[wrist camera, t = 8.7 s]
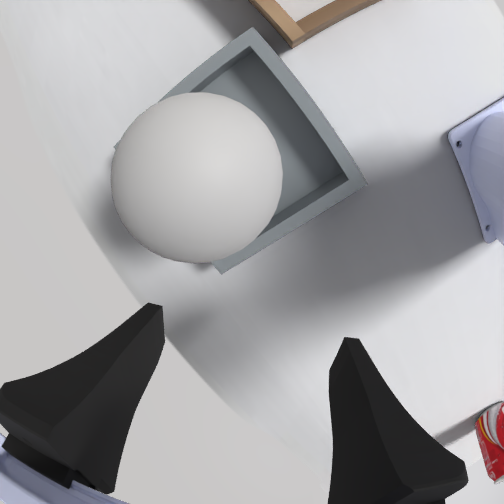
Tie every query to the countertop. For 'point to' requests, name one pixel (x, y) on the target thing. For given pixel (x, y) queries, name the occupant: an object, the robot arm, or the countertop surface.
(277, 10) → the holder collar
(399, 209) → the countertop surface
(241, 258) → the parts tray
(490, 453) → the soda can
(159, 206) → the lightbulb
